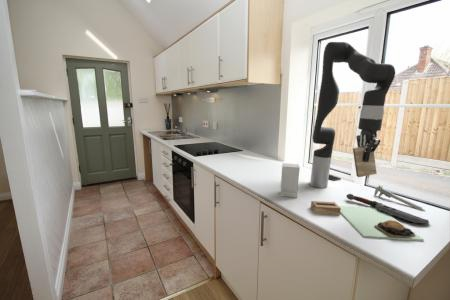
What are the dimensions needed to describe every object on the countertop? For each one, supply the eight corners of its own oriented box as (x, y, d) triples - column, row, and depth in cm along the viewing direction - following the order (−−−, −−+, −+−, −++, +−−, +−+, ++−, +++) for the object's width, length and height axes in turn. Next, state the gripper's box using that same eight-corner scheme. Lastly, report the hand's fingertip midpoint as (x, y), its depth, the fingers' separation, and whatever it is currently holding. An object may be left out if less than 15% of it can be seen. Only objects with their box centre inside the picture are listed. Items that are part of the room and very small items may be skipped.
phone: (333, 179, 137) (313, 172, 150) (333, 181, 137) (313, 174, 150) (341, 178, 140) (322, 171, 153) (341, 180, 140) (322, 173, 153)
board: (356, 176, 92) (352, 148, 90) (374, 172, 91) (370, 144, 89) (358, 177, 91) (354, 149, 89) (376, 173, 90) (373, 145, 88)
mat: (334, 206, 101) (334, 205, 100) (379, 209, 100) (379, 207, 100) (363, 237, 77) (363, 235, 77) (423, 241, 76) (423, 239, 76)
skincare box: (296, 193, 114) (299, 164, 111) (297, 198, 108) (300, 167, 105) (279, 191, 116) (282, 162, 113) (279, 196, 110) (282, 165, 107)
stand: (310, 207, 99) (311, 200, 98) (333, 208, 99) (334, 202, 98) (315, 213, 93) (316, 206, 93) (339, 214, 93) (340, 208, 92)
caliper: (374, 196, 116) (376, 184, 115) (374, 195, 116) (377, 184, 115) (424, 212, 99) (427, 198, 98) (425, 211, 100) (428, 198, 99)
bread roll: (391, 239, 76) (393, 229, 75) (371, 226, 84) (373, 217, 83) (418, 237, 77) (420, 227, 77) (396, 224, 85) (398, 215, 85)
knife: (353, 191, 112) (431, 218, 89) (352, 195, 112) (429, 223, 89) (344, 193, 107) (425, 223, 83) (343, 198, 107) (423, 228, 84)
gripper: (352, 116, 94) (346, 156, 97) (371, 118, 80) (363, 164, 84) (371, 117, 93) (364, 157, 96) (392, 119, 80) (384, 165, 83)
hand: (363, 160), depth 90 cm, fingers closed on board, 1 cm apart
